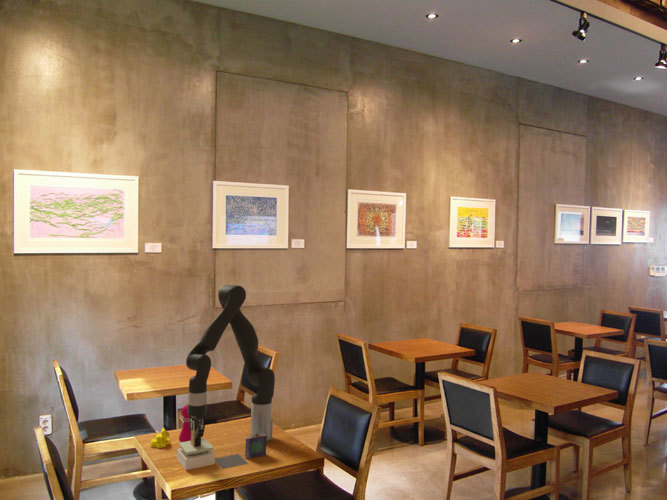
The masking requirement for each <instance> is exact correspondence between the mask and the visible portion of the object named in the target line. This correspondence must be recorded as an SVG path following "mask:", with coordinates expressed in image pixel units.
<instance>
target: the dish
mask: <svg viewBox="0 0 667 500" xmlns="http://www.w3.org/2000/svg"><path fill="white" fill-rule="evenodd" d="M215 458H216V453H215V452H214V450H210V451H204V452H199V453H194V454H189V455H186V454H185V453H184V451H183V450H182V449H181V448H180V447H179V448H177V449H176V460H177V461H178V462H179V464H180V465H181V466H182V468H183V469H184V470H185V471H187V470H192V469H197V468H202V467H208V466H211V465H215V464H216V462H215Z"/></svg>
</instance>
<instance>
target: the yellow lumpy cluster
mask: <svg viewBox="0 0 667 500" xmlns="http://www.w3.org/2000/svg"><path fill="white" fill-rule="evenodd" d="M168 444H170V445H171V439H170V432H168V431H167V430H166V429H165V427H162V428H161V429H160V433H157V434H156V436H155V438H152V439H151V440H150V447H151V448H155V447H156V448H157V449H161V448H166V447H167V446H169V445H168Z"/></svg>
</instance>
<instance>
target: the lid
mask: <svg viewBox="0 0 667 500" xmlns="http://www.w3.org/2000/svg"><path fill="white" fill-rule="evenodd" d="M199 434H200V433H199ZM178 446H179V448H181V449H182V450H183V451H184V453H185V454H186V455H189V454H194V453H199V452H204V451H210V450H212V451H214V446H213V445H212V444H211V443H210V442H209V441H208V440H207V439H206V438H205V437H204V438H201V445H200V446H198V447H196V446H195V432H194V430H191V441H187V442H178Z"/></svg>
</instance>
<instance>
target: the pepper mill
mask: <svg viewBox="0 0 667 500" xmlns="http://www.w3.org/2000/svg"><path fill="white" fill-rule="evenodd" d="M180 414H181V415H182V418H181V419H182V429H181V431H180V433H179V435H178V441H179V443H181V442H187V441H191V431H190V422H189V415H188V401H187V402H186V404H185V405H184V406H183V407H182V409H181V411H180Z"/></svg>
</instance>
